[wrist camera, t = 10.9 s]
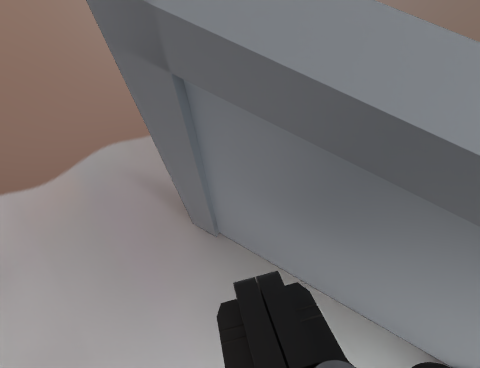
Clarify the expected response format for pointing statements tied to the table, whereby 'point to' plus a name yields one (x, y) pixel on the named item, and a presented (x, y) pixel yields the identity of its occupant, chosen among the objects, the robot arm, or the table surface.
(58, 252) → the table surface
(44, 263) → the table surface
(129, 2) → the gate
